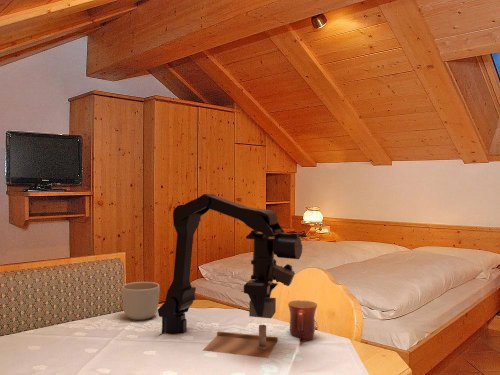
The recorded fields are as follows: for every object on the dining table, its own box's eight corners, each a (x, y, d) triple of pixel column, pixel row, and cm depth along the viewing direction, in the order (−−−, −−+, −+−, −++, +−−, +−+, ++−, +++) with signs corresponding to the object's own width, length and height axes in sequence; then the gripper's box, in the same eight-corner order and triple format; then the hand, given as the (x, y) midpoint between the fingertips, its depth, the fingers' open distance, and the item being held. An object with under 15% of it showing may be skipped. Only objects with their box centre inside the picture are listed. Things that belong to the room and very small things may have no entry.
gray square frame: (249, 316, 121) (249, 301, 121) (254, 310, 127) (254, 296, 127) (271, 318, 119) (271, 303, 119) (275, 312, 125) (275, 298, 125)
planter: (122, 313, 158) (122, 282, 158) (158, 311, 161) (158, 281, 161) (121, 324, 146) (121, 290, 146) (159, 321, 149) (160, 289, 149)
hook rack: (202, 354, 120) (202, 327, 120) (217, 338, 133) (218, 314, 133) (267, 362, 116) (268, 334, 116) (277, 345, 129) (277, 320, 128)
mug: (289, 332, 140) (289, 299, 140) (317, 334, 138) (318, 301, 138) (284, 345, 128) (284, 309, 128) (315, 348, 127) (315, 311, 126)
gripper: (286, 263, 112) (285, 326, 112) (297, 252, 130) (296, 306, 130) (243, 260, 115) (242, 321, 115) (260, 250, 133) (259, 303, 133)
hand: (262, 312), depth 123 cm, fingers closed on gray square frame, 6 cm apart
